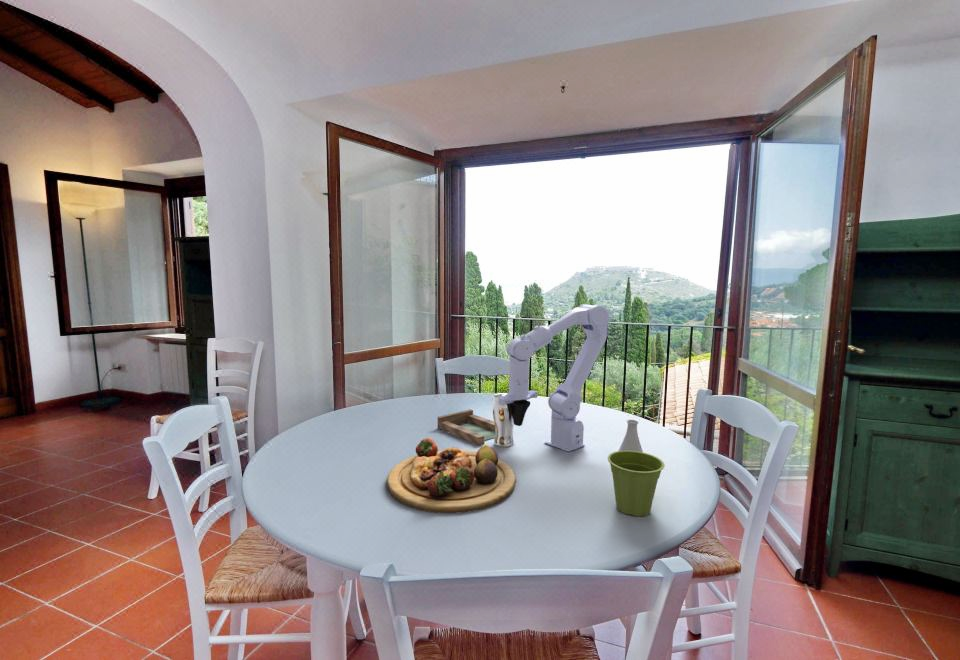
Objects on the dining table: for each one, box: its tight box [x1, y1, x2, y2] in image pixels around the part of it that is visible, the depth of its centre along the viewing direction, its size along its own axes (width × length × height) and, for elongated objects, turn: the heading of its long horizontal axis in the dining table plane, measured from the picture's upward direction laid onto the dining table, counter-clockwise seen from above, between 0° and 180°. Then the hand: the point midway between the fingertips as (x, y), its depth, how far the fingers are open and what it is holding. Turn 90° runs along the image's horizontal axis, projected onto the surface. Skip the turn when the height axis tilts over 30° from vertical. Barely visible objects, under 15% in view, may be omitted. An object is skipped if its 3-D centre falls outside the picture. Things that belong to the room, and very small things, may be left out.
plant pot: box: [607, 450, 665, 517], centre depth 103 cm, size 12×12×11 cm
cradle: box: [437, 409, 495, 446], centre depth 154 cm, size 21×14×4 cm
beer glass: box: [492, 392, 515, 448], centre depth 143 cm, size 7×7×15 cm
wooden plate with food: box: [386, 437, 517, 514], centre depth 116 cm, size 32×32×8 cm
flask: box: [618, 419, 644, 453], centre depth 135 cm, size 7×7×10 cm
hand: (518, 424), depth 138 cm, fingers closed
